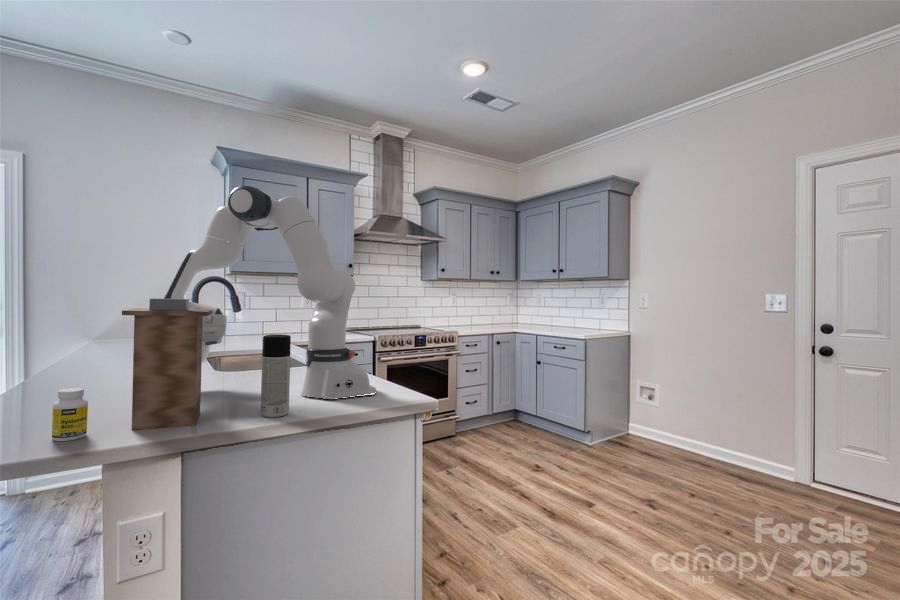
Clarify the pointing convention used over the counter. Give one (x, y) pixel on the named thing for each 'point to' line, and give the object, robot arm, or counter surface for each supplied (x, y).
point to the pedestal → (166, 367)
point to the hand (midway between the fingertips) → (182, 311)
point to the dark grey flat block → (169, 304)
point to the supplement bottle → (69, 415)
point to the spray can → (275, 375)
